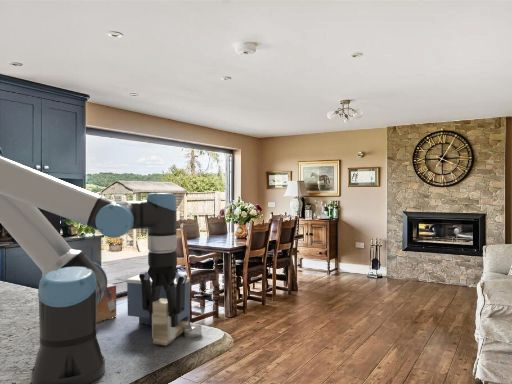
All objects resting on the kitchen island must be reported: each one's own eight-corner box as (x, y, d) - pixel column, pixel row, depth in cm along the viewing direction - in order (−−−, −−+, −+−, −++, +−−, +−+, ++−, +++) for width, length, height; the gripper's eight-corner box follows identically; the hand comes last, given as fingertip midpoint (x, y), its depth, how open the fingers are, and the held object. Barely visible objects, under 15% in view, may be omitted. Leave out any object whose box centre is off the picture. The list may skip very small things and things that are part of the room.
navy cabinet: (177, 336, 116) (176, 283, 116) (126, 329, 122) (125, 279, 121) (190, 327, 123) (189, 277, 123) (141, 321, 129) (141, 273, 129)
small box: (94, 324, 127) (93, 290, 127) (84, 320, 130) (84, 287, 130) (117, 317, 133) (116, 284, 133) (107, 314, 137) (106, 282, 136)
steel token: (196, 339, 114) (196, 330, 114) (180, 337, 116) (180, 329, 116) (204, 333, 119) (204, 324, 119) (188, 331, 120) (188, 323, 120)
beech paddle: (166, 345, 108) (165, 303, 107) (153, 343, 109) (152, 302, 109) (190, 328, 120) (189, 291, 120) (178, 327, 121) (177, 290, 121)
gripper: (197, 249, 110) (198, 336, 111) (143, 247, 116) (144, 329, 117) (184, 254, 103) (185, 346, 104) (126, 251, 109) (128, 339, 109)
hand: (163, 337), depth 110 cm, fingers closed on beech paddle, 4 cm apart
